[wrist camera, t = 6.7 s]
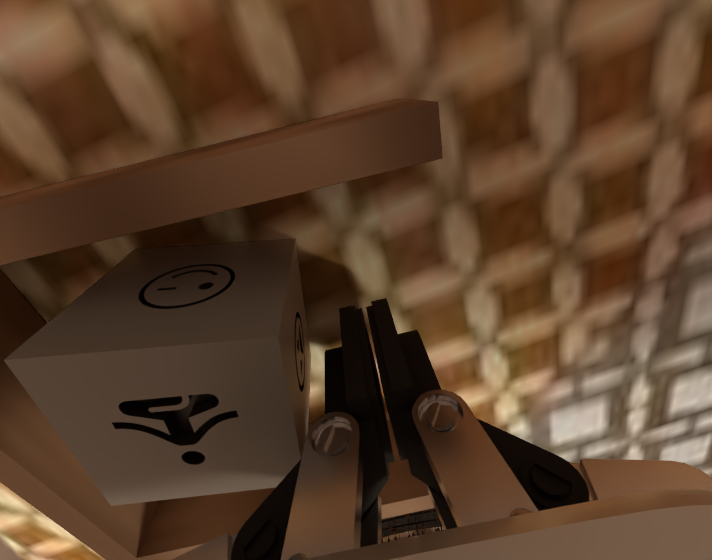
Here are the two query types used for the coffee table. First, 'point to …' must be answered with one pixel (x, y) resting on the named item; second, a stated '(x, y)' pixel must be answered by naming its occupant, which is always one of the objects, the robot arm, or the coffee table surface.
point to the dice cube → (179, 371)
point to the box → (155, 209)
